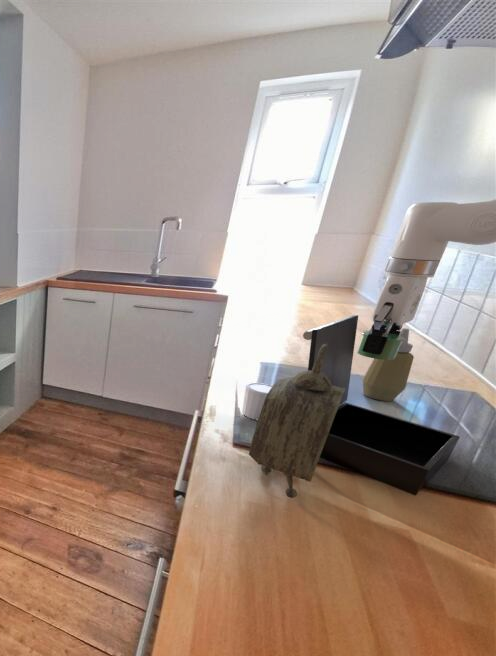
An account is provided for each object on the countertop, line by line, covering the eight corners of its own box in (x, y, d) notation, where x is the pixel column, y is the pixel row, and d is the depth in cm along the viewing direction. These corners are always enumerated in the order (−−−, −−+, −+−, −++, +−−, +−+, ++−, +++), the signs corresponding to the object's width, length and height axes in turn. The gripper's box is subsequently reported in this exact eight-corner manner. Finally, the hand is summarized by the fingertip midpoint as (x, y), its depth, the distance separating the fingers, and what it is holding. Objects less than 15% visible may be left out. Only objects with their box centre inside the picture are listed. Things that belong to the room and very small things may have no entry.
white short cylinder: (232, 412, 98) (239, 385, 95) (250, 406, 101) (257, 380, 98) (261, 424, 92) (269, 396, 89) (279, 418, 95) (288, 390, 92)
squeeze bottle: (349, 392, 108) (375, 325, 101) (371, 388, 110) (397, 323, 103) (385, 405, 101) (415, 334, 94) (407, 401, 103) (438, 331, 96)
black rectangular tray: (446, 462, 78) (460, 436, 76) (413, 499, 69) (428, 470, 66) (335, 425, 92) (344, 402, 90) (294, 451, 82) (303, 425, 80)
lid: (358, 315, 84) (329, 314, 88) (317, 329, 75) (287, 328, 79) (347, 400, 89) (320, 396, 93) (306, 424, 79) (278, 418, 83)
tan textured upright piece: (300, 507, 67) (354, 363, 57) (238, 484, 73) (277, 349, 63) (314, 469, 76) (363, 340, 66) (259, 451, 82) (295, 330, 72)
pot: (401, 356, 91) (409, 336, 89) (390, 362, 88) (399, 342, 86) (361, 348, 97) (369, 329, 95) (350, 353, 93) (357, 334, 91)
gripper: (422, 273, 77) (386, 362, 84) (448, 266, 86) (412, 347, 93) (372, 268, 83) (341, 352, 90) (400, 262, 92) (370, 339, 99)
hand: (378, 349), depth 92 cm, fingers closed on pot, 7 cm apart
